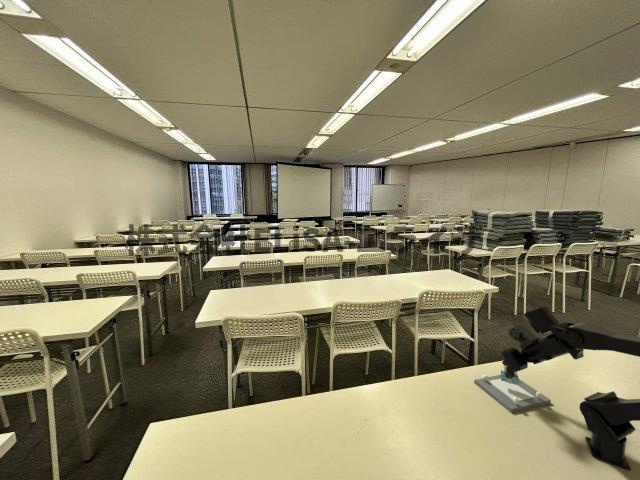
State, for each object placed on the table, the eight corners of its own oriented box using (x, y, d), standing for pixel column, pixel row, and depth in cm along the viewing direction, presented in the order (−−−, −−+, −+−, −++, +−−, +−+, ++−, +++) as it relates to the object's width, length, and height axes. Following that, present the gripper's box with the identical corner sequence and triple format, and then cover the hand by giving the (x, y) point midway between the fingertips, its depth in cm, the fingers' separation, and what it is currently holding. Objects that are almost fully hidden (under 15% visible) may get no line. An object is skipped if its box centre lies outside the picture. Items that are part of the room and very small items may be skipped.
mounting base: (550, 403, 82) (551, 394, 82) (510, 412, 78) (511, 403, 78) (509, 375, 96) (510, 367, 95) (474, 382, 92) (474, 374, 92)
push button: (522, 381, 87) (525, 353, 86) (525, 390, 82) (528, 361, 81) (498, 374, 90) (501, 348, 89) (500, 382, 86) (503, 354, 85)
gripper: (547, 316, 83) (510, 333, 95) (509, 326, 77) (474, 343, 88) (576, 351, 77) (532, 365, 88) (537, 365, 70) (496, 378, 82)
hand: (508, 361), depth 87 cm, fingers closed on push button, 5 cm apart
